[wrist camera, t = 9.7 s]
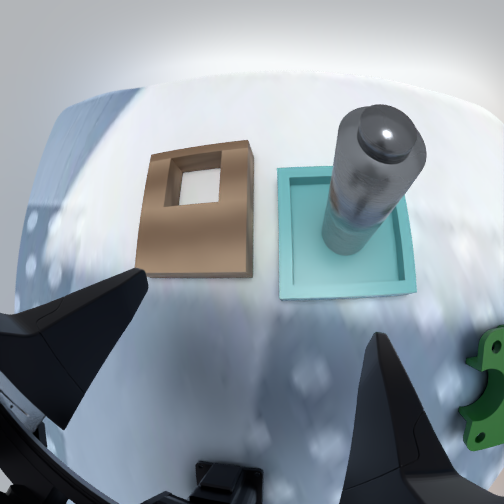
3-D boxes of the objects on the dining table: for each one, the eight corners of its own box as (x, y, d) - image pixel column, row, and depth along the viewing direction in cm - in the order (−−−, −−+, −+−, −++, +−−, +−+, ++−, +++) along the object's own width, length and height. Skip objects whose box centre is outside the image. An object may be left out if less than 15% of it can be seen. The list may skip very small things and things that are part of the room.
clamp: (454, 345, 22) (482, 311, 16) (496, 339, 20) (531, 304, 13) (448, 451, 16) (481, 456, 9) (494, 441, 13) (536, 437, 7)
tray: (405, 294, 21) (416, 292, 19) (281, 300, 23) (279, 298, 20) (391, 179, 23) (398, 166, 21) (279, 181, 25) (277, 168, 23)
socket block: (252, 277, 24) (245, 272, 21) (151, 277, 26) (134, 272, 23) (253, 157, 27) (248, 139, 24) (163, 168, 28) (151, 154, 25)
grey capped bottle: (356, 263, 21) (425, 188, 8) (313, 242, 22) (325, 141, 9) (373, 222, 22) (439, 117, 9) (332, 202, 23) (355, 80, 10)
